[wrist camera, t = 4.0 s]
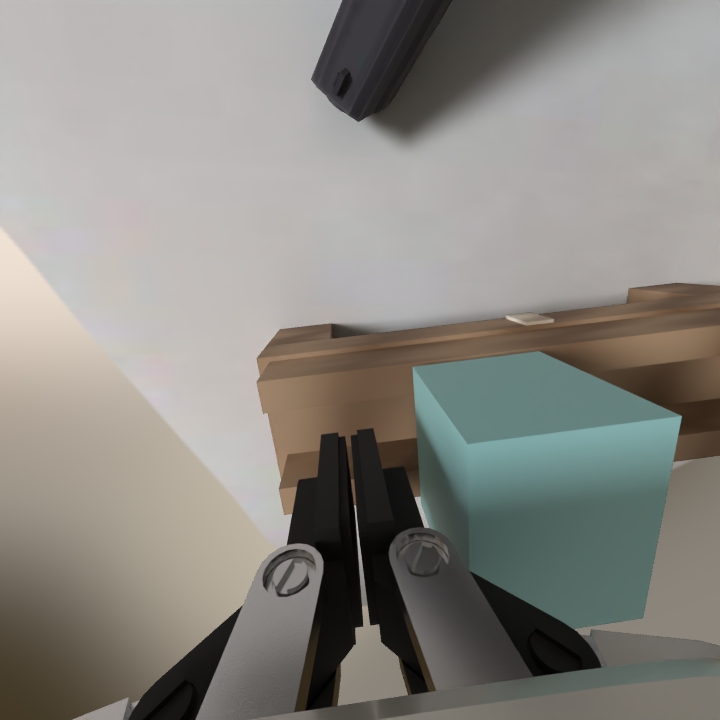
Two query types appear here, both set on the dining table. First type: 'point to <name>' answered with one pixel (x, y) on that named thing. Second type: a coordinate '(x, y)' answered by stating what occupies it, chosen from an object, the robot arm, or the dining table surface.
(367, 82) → the handgun
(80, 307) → the dining table surface
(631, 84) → the dining table surface
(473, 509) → the teal rectangular block
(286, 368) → the beam
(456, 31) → the dining table surface
